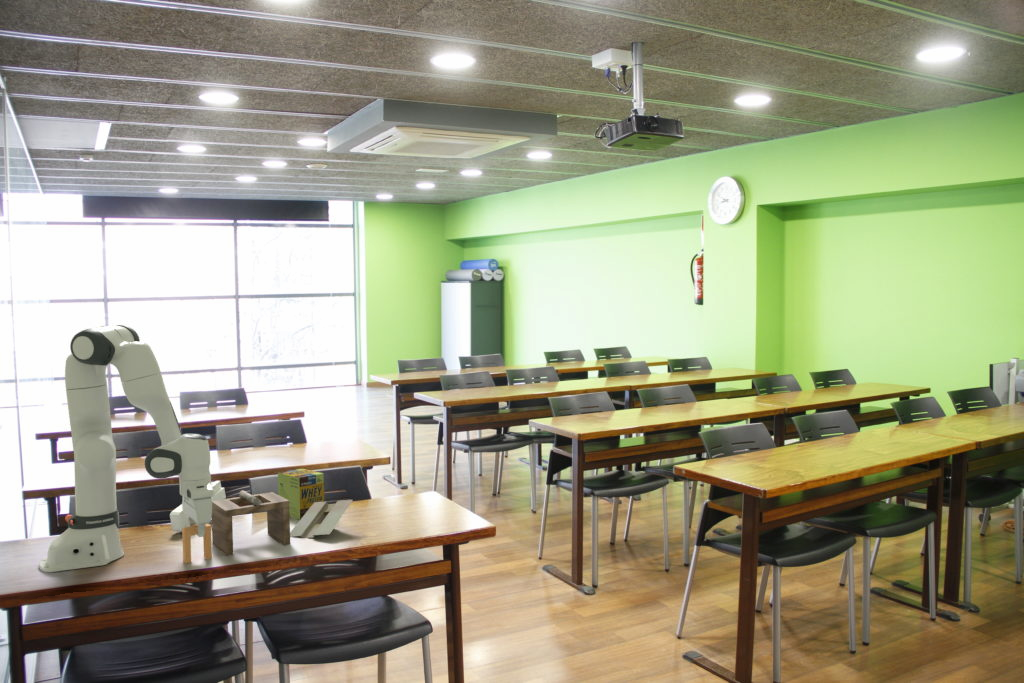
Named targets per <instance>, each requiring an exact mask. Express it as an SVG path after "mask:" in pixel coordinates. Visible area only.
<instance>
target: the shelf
mask: <svg viewBox="0 0 1024 683" xmlns="http://www.w3.org/2000/svg"><path fill="white" fill-rule="evenodd" d="M238 494H239V496H238V497H231V498H225V499H222V500H215V501H212V518H211V540H212V545H213V546H214V547H216V548H217V549H218V550H219V551H220V552H222V553H223V554H224V555H225V556H226V557H228V556H233V555H234V535H233V534H234V531H233V529H234V528H233V517H234V516H241V515H242V516H243V515H247V514H253V513H260V512H264V511H265V512H266V516H267V517H266V518H267V519H266V520H267V521H266V522H267V527H266V528H267V535H268V536H270V537H272V538H273V539H274V540H276V541H277V542H279V543H280V544H282V545H284V546H286V545H291V537H290V532H291V521H290V520H291V517H290V511H289V500H287V499H285V498H283V497H281V496H279V495H278V494H277V493H276V492H273V491H271V492H263V493H258V494H257V493H256V494H250V493H249V492H247V491H245V490H240V491H239V493H238ZM250 503H252V504H250ZM244 504H250V505H244ZM239 505H244V506H239Z"/></svg>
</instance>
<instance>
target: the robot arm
mask: <svg viewBox="0 0 1024 683" xmlns="http://www.w3.org/2000/svg"><path fill="white" fill-rule="evenodd" d="M69 345H70V348H69V349H70V352H71V353H70V354H69V355H68V356H67V358H66V359H65V367H64V368H65V370H64V382H65V383H64V384H65V393H66V400H67V407H68V408H67V409H68V418H69V423H70V424H69V426H70V432H71V441H72V449H73V459H74V497H75V498H74V499H75V514H73V515H72V514H66V516H65V518H64V520H65V522H66V523H67V525H68V528H67V529H66V530H64V532H62V533H61V534H60V535H59V536H57V537H55V539H54V540H52V541H51V543H50V545H49V547H48V550H47V556H46V557H44V558H42V559H41V560H40V561H39V564H38V567H39V570H40V571H42V572H45V573H53V572H54V573H55V572H61V571H62V572H63V571H68V570H69V571H70V570H77V569H85V568H92V567H99V566H105V565H108V564H109V563H111V562H113V561H116V560H118V559H121V558H122V557H123V556H124V555H125V552H124V550H123V546H122V543H121V539H120V533H119V526H120V514H119V510H118V507H117V485H116V484H117V449H116V448H117V447H116V445H115V443H114V439H113V438H114V437H113V431H112V430H113V429H112V420H111V419H112V418H111V406H110V398H109V397H110V396H109V388H108V383H107V382H108V381H107V375H106V374H107V368H108V366H109V364H110V365H112V366H113V367H115V369H116V370H117V372H118V374H119V378H120V382H121V386H122V389H123V392H124V394H125V397H126V399H127V400H128V402H129V404H130V405H132V406H133V407H136V408H138V409H140V410H142V411H144V412H146V413H147V414H148V415H150V417H151V418H152V420H153V422H154V424H155V427H156V430H157V432H158V435H159V438H160V442H161V445H160V446H158V447H155V448H154V449H152V450H150V452H148V453H147V454H146V457H145V460H144V467H145V471H146V472H147V474H148V475H149V476H151V477H152V478H154V479H162V480H163V479H168V478H171V477H178V479H179V480H178V481H179V482H178V483H179V495H180V496H182V502H181V504H182V509H183V512H184V513H185V514H186V515H187V516H188V522H189V527H191V526H196V523H197V526H198V530H197V537H198V538H201V537H203V536H204V535H205V527H206V524H210V523H212V498H211V497H213V496H214V490H213V488H212V486H211V484H212V474H211V471H210V466H211V451H210V444H209V439H208V438H207V437H205V435H202V434H199V433H188V432H187V433H183V432H182V429H181V426H180V423H179V421H178V418H177V416H176V412H175V410H174V407H173V404H172V403H171V400H170V398H169V395H168V392H167V389H166V385H165V383H164V379H163V376H162V372H161V369H160V366H159V364H158V360H157V357H156V356H155V354H154V351H153V350H152V348H151V347H150V345H149V344H147V343H146V342H143V341H140V337H139V334H138V333H137V332H136V331H135V330H134V329H133V328H132V327H130V326H126V325H122V324H121V325H120V324H119V325H102V326H99V327H93V328H86V329H83V330H80V331H79V332H77V333H76V334H74V335H73V337H72V339H71V341H70V344H69Z"/></svg>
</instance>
